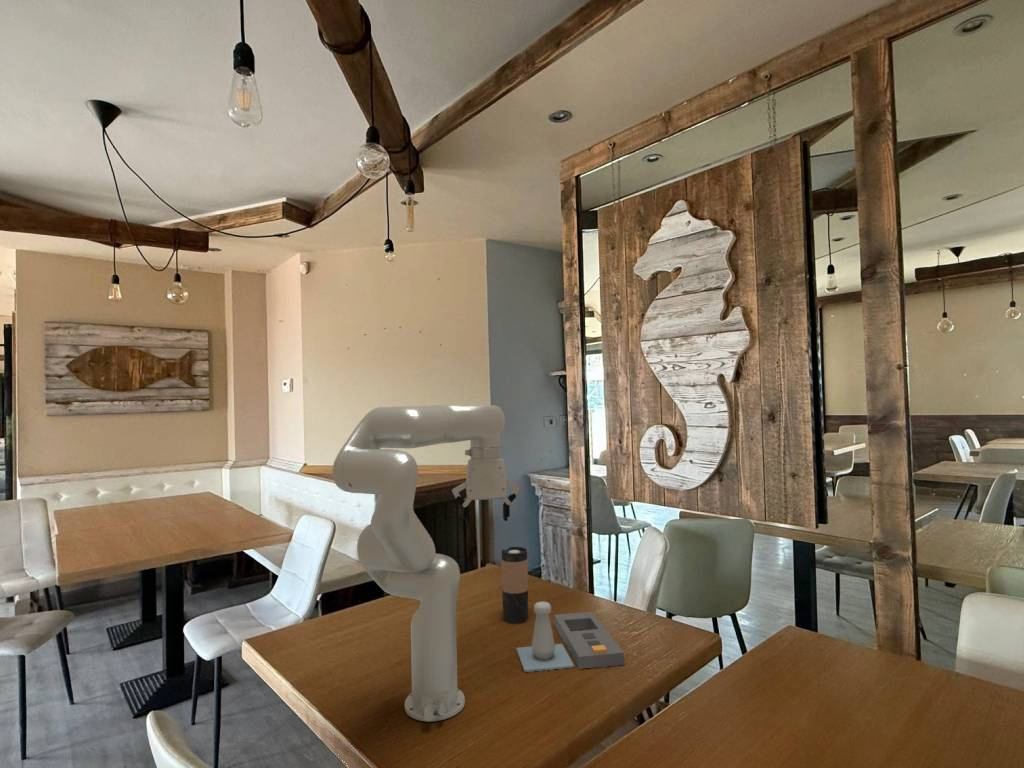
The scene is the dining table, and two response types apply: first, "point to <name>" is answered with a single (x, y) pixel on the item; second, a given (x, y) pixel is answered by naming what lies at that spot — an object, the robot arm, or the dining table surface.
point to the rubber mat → (534, 664)
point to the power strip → (588, 640)
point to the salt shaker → (543, 632)
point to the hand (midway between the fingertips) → (486, 520)
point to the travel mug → (515, 585)
